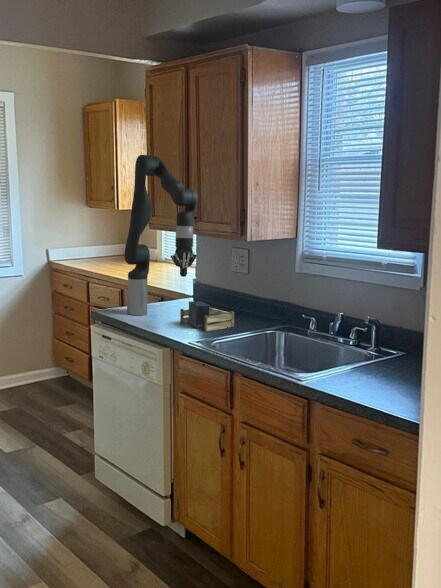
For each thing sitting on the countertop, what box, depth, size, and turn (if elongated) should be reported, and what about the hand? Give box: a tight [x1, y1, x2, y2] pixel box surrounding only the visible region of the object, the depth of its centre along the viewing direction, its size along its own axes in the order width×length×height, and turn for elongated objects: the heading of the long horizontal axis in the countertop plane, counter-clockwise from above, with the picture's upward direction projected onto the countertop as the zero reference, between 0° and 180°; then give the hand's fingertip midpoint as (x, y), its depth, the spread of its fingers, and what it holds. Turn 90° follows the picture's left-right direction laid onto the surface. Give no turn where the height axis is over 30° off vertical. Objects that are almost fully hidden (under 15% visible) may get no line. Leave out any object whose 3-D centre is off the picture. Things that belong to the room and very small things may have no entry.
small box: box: [187, 300, 210, 330], centre depth 284 cm, size 11×6×10 cm, turn 23°
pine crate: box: [179, 305, 235, 332], centre depth 287 cm, size 18×16×7 cm
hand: (183, 276), depth 277 cm, fingers closed
